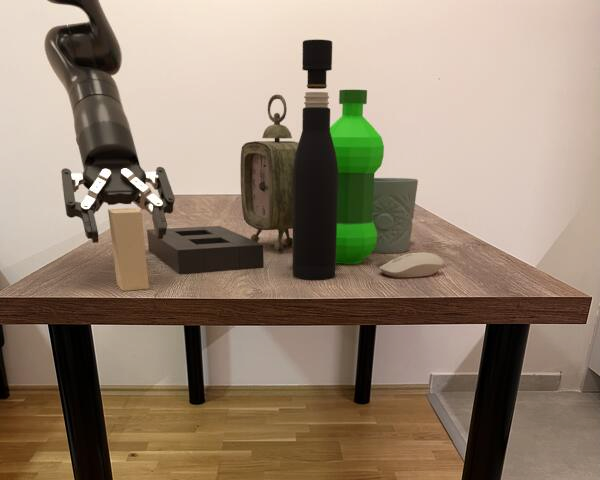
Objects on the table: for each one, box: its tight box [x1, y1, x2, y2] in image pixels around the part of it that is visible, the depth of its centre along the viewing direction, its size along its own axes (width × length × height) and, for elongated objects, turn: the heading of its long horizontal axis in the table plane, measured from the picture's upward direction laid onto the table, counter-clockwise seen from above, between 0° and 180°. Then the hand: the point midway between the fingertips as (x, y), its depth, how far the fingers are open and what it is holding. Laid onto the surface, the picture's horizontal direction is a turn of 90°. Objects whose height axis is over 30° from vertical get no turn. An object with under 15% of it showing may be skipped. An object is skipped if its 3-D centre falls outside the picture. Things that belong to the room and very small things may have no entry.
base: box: [146, 225, 265, 275], centre depth 107 cm, size 14×23×4 cm, turn 23°
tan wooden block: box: [107, 207, 150, 292], centre depth 86 cm, size 4×5×10 cm
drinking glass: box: [372, 177, 419, 254], centre depth 114 cm, size 10×10×12 cm
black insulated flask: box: [292, 39, 338, 281], centre depth 89 cm, size 6×6×30 cm
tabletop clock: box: [239, 94, 299, 253], centre depth 113 cm, size 14×9×25 cm, turn 27°
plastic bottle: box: [330, 89, 385, 265], centre depth 100 cm, size 10×10×25 cm
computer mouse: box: [379, 252, 444, 279], centre depth 96 cm, size 6×10×3 cm, turn 111°
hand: (129, 237), depth 84 cm, fingers open, 8 cm apart
